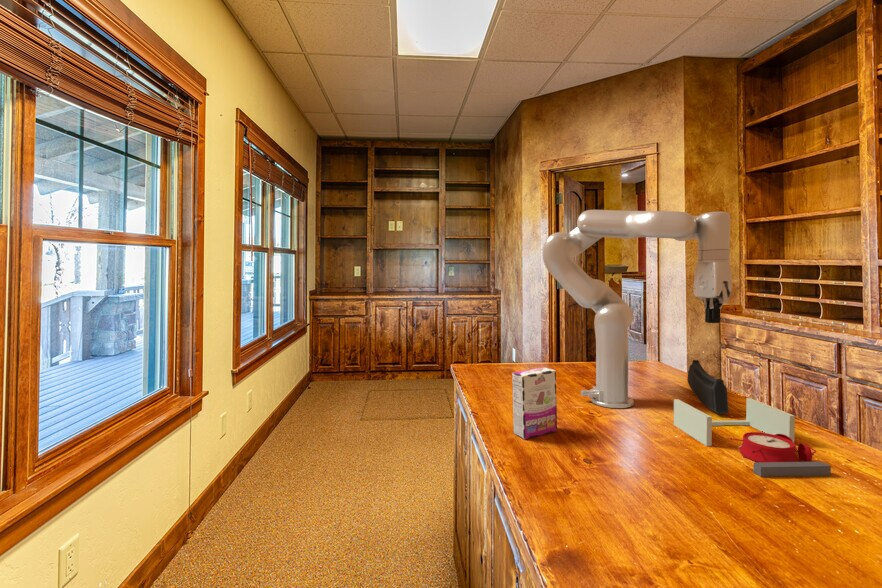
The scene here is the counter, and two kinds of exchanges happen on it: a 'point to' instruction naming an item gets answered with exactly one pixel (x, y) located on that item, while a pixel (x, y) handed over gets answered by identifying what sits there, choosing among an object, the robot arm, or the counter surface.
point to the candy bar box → (534, 402)
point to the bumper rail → (791, 469)
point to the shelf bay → (756, 417)
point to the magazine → (708, 388)
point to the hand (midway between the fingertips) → (712, 322)
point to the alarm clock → (773, 448)
